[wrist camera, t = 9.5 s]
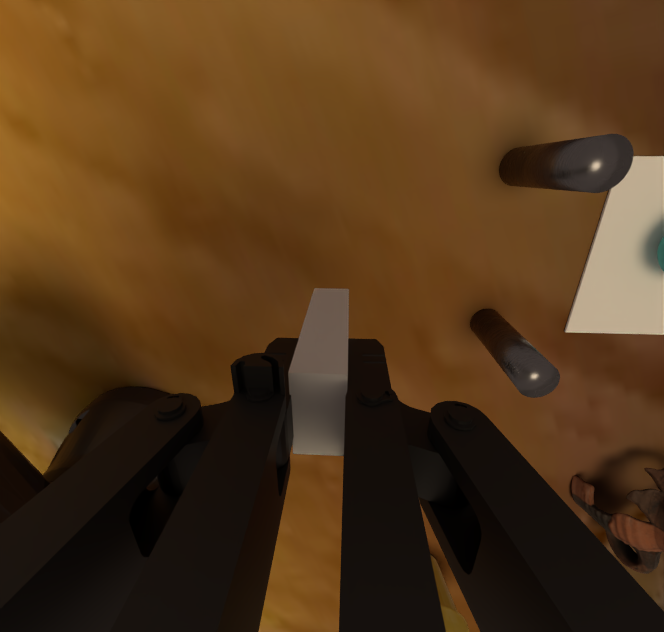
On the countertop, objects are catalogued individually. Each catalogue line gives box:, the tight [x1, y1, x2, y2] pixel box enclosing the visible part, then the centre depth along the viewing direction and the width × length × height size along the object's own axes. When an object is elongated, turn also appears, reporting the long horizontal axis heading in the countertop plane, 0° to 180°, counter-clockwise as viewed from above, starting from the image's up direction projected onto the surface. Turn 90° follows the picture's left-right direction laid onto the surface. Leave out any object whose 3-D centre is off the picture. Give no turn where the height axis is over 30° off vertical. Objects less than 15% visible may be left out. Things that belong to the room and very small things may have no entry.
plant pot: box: [430, 555, 469, 632], centre depth 39 cm, size 10×10×10 cm
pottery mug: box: [571, 468, 664, 573], centre depth 34 cm, size 12×10×8 cm
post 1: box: [470, 309, 560, 398], centre depth 25 cm, size 3×3×9 cm
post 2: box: [499, 134, 633, 193], centre depth 20 cm, size 3×3×9 cm
